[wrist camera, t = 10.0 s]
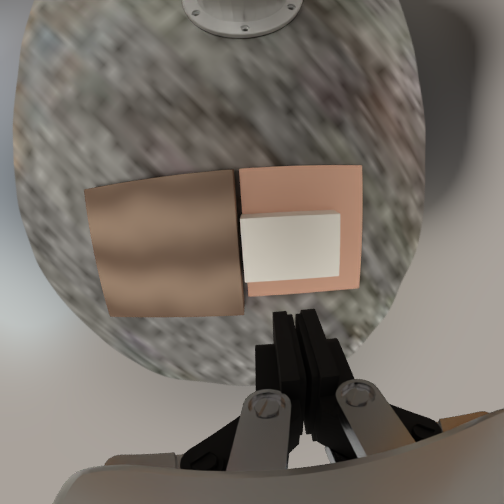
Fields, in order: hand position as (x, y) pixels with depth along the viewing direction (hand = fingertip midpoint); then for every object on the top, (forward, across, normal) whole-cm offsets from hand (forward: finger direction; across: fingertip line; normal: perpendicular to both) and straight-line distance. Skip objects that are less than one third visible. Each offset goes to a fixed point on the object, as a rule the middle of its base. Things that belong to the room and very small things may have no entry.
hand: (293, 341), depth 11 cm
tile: (+18, -2, +1) cm, 18 cm away
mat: (+18, -4, 0) cm, 18 cm away
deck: (+18, +10, +1) cm, 21 cm away
